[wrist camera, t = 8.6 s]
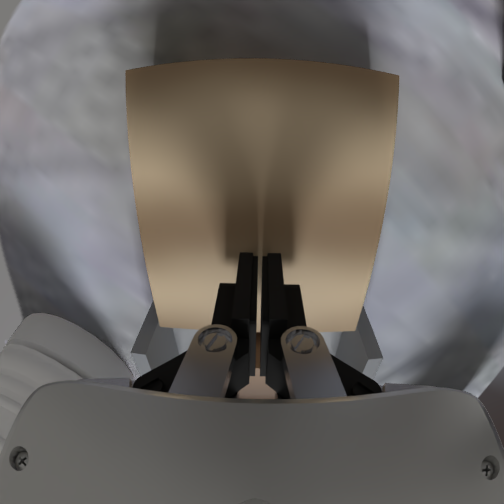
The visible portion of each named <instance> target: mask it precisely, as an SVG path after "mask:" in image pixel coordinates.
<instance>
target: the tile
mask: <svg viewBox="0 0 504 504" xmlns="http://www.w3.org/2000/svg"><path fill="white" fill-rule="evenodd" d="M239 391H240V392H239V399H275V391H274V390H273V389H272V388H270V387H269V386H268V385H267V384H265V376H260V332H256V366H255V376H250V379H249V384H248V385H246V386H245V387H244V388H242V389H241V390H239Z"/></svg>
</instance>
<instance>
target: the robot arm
mask: <svg viewBox="0 0 504 504" xmlns="http://www.w3.org/2000/svg"><path fill="white" fill-rule="evenodd" d="M257 286H258V256H253V253H248V252H240V254H239V262H238V269H237V277H236V283H220V284H219V288H218V293H217V298H216V303H215V308H214V313H213V318H212V323H211V325H207V326H205V327H203V328H201V329H200V330H198V331H197V332H196V334H195V335H194V337H193V339H192V341H191V343H190V346H189V348H188V350H187V351H185V352H184V353H182V354H180V355H178V356H176V357H175V358H173V359H171V360H169V361H167V362H166V363H164V364H162V365H160V366H158V367H156V368H155V369H153V370H151V371H149V372H147V373H145V374H143V375H142V376H140V377H139V378H138V379H137V380H134V381H131V379H130V378H84V379H79V380H65V381H57V382H52V383H48V384H45V385H42V386H40V387H38V388H37V389H36V390H35V391H34V392H33V393H32V394H31V395H30V396H29V397H28V399H27V400H26V402H25V403H24V405H23V406H22V408H21V409H20V411H19V413H18V415H17V417H16V419H15V421H14V423H13V425H12V427H11V429H10V431H9V433H8V436H7V438H6V440H5V443H4V446H3V448H2V451H1V454H0V504H504V449H503V446H502V443H501V441H500V438H499V436H498V433H497V430H496V428H495V426H494V424H493V422H492V419H491V417H490V416H489V414H488V412H487V410H486V409H485V407H484V405H483V404H482V403H481V401H480V400H479V399H478V398H477V397H476V396H474V395H472V394H471V393H468V392H466V391H462V390H457V389H452V388H439V387H434V386H429V385H408V384H392V383H385V384H384V386H381V385H378V383H376V382H375V381H374V380H373V379H371V378H369V377H368V376H366V375H364V374H363V373H361V372H359V371H358V370H356V369H354V368H353V367H351V366H349V365H348V364H346V363H345V362H343V361H341V360H340V359H338V358H336V357H335V356H333V355H332V354H330V352H329V350H328V347H327V345H326V342H325V340H324V338H323V336H322V335H321V333H319V332H318V331H317V330H315V329H313V328H311V327H307V325H306V319H305V313H304V307H303V301H302V295H301V289H300V285H299V284H284V278H283V268H282V259H281V253H268V254H267V256H262V285H261V328H260V376H265V384H267V385H268V386H269V387H270V388H272V389H273V390H274V391H275V399H239V392H240V391H239V390H241V389H242V388H244V387H245V386H246V385H248V384H249V379H250V376H255V366H256V329H257Z"/></svg>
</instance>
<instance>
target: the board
mask: <svg viewBox="0 0 504 504" xmlns="http://www.w3.org/2000/svg"><path fill="white" fill-rule="evenodd" d="M398 95H399V76H398V75H394V74H390V73H385V72H381V71H376V70H370V69H365V68H359V67H353V66H347V65H340V64H333V63H324V62H315V61H304V60H290V59H268V58H233V59H210V60H196V61H185V62H176V63H168V64H160V65H154V66H147V67H141V68H136V69H130V70H126V107H127V125H128V139H129V151H130V161H131V171H132V180H133V188H134V195H135V203H136V210H137V216H138V223H139V229H140V235H141V241H142V246H143V252H144V257H145V262H146V267H147V272H148V277H149V282H150V287H151V291H152V296H153V300H154V304H155V308H156V313H157V317H158V321H159V325H160V327H168V328H181V329H196V330H200V329H201V328H203V327H205V326H207V325H211V323H212V318H213V313H214V308H215V303H216V298H217V293H218V288H219V284H220V283H236V277H237V269H238V262H239V254H240V252H248V253H253V256H258V286H257V329H256V332H260V328H261V285H262V256H267V254H268V253H281V259H282V268H283V278H284V284H299V285H300V289H301V295H302V301H303V307H304V313H305V319H306V325H307V327H311V328H313V329H315V330H317V331H318V332H343V331H355V330H356V327H357V324H358V320H359V317H360V314H361V310H362V307H363V303H364V300H365V296H366V292H367V289H368V285H369V281H370V277H371V273H372V269H373V265H374V261H375V256H376V252H377V248H378V243H379V238H380V234H381V229H382V224H383V218H384V213H385V208H386V202H387V196H388V190H389V183H390V177H391V169H392V162H393V154H394V145H395V135H396V124H397V112H398Z"/></svg>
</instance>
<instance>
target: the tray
mask: <svg viewBox="0 0 504 504" xmlns="http://www.w3.org/2000/svg"><path fill="white" fill-rule="evenodd" d="M197 331H198V330H196V329H181V328H168V327H160V325H159V321H158V317H157V313H156V308H155V304H154V301H153V303H152V305H151V307H150V309H149V312H148V314H147V316H146V318H145V321H144V323H143V325H142V327H141V330H140V332H139V334H138V337H137V339H136V341H135V344H134V346H133V348H132V351H131V355H132V357H133V360H134V362H135V365H136V367H137V370H138V372H139V374H140V376H142V375H143V374H145V373H147V372H149V371H151V370H153V369H155V368H156V367H158V366H160V365H162V364H164V363H166V362H167V361H169V360H171V359H173V358H175V357H176V356H178V355H180V354H182V353H184V352H185V351H187V350H188V348H189V346H190V343H191V341H192V339H193V337H194V335H195V334H196V332H197ZM319 333H321V335H322V336H323V338H324V340H325V342H326V345H327V347H328V350H329V352H330V354H332V355H333V356H335V357H336V358H338V359H340V360H341V361H343V362H345V363H346V364H348V365H349V366H351V367H353V368H354V369H356V370H358V371H359V372H361V373H363V374H364V375H366V376H368V377H369V378H371V379H374V377H375V375H376V372H377V370H378V368H379V366H380V364H381V362H382V360H383V356H382V354H381V351H380V348H379V345H378V343H377V340H376V337H375V335H374V332H373V330H372V327H371V324H370V322H369V319H368V317H367V314H366V312H365V309H364V307H362V310H361V314H360V317H359V320H358V324H357V327H356V330H355V331H343V332H319Z"/></svg>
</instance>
